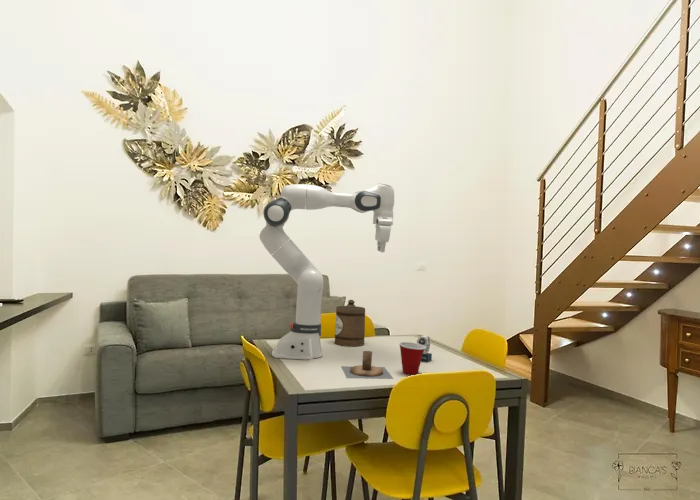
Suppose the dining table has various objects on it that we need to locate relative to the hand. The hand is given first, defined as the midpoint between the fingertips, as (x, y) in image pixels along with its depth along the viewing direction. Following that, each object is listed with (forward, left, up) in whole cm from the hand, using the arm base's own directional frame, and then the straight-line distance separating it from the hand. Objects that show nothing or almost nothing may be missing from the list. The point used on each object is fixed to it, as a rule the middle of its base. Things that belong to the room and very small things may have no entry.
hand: (380, 251), depth 241 cm
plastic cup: (+9, -29, -48) cm, 57 cm away
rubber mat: (-9, -29, -48) cm, 57 cm away
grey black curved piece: (+21, -5, -48) cm, 52 cm away
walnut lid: (-9, -29, -47) cm, 56 cm away
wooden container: (-8, +29, -48) cm, 57 cm away
